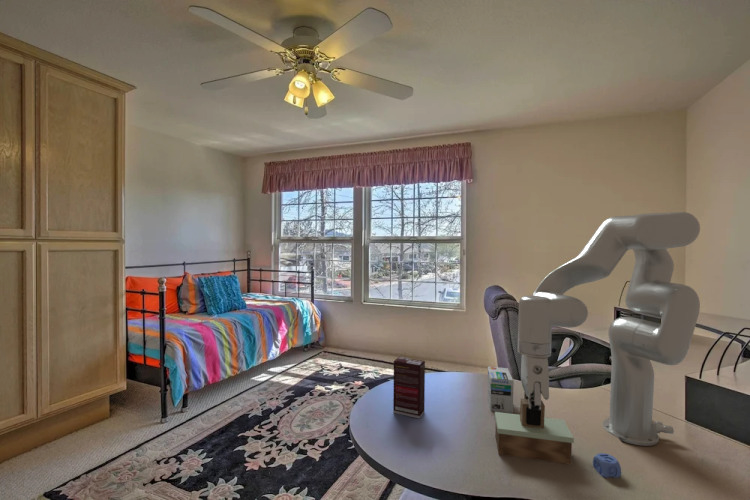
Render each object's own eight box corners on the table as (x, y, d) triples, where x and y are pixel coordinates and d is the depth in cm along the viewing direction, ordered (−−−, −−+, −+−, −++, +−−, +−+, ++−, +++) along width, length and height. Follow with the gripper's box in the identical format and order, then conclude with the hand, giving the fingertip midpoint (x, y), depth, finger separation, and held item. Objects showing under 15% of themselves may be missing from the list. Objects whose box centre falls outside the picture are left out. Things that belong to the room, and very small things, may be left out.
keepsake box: (561, 448, 94) (562, 424, 93) (570, 467, 86) (571, 442, 86) (495, 439, 97) (495, 417, 97) (498, 457, 89) (499, 433, 89)
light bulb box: (513, 415, 110) (514, 380, 110) (489, 413, 111) (490, 378, 111) (507, 400, 121) (508, 367, 120) (486, 398, 122) (487, 365, 121)
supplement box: (424, 412, 112) (425, 360, 111) (419, 419, 107) (420, 365, 106) (398, 406, 115) (398, 355, 115) (392, 413, 111) (393, 360, 110)
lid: (563, 424, 94) (564, 398, 93) (573, 443, 85) (574, 414, 85) (494, 416, 97) (495, 391, 97) (497, 433, 89) (498, 405, 89)
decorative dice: (609, 469, 85) (610, 452, 85) (621, 481, 81) (621, 463, 81) (592, 469, 85) (592, 452, 85) (603, 481, 81) (603, 463, 81)
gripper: (559, 359, 82) (556, 441, 82) (543, 338, 97) (541, 407, 98) (523, 356, 83) (520, 436, 84) (513, 336, 99) (511, 404, 100)
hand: (531, 420), depth 91 cm, fingers closed on lid, 3 cm apart
